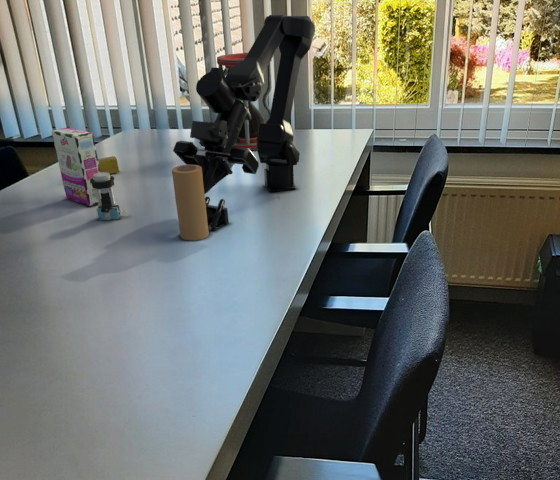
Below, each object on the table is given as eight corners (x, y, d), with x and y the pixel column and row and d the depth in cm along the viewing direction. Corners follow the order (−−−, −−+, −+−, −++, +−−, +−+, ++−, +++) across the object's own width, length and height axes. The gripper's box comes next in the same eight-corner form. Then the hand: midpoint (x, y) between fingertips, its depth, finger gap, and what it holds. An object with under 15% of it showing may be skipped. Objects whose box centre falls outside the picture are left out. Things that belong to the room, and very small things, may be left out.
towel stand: (208, 220, 139) (205, 195, 136) (228, 223, 136) (226, 198, 133) (194, 227, 135) (191, 202, 132) (215, 231, 133) (212, 206, 130)
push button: (129, 213, 145) (121, 170, 139) (124, 221, 140) (116, 177, 135) (100, 214, 145) (92, 171, 139) (95, 222, 140) (86, 178, 135)
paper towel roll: (207, 187, 136) (172, 151, 123) (230, 191, 133) (196, 154, 121) (185, 246, 134) (147, 216, 122) (207, 250, 132) (171, 220, 119)
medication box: (76, 180, 169) (73, 166, 167) (74, 177, 171) (71, 162, 169) (119, 172, 173) (117, 158, 171) (117, 169, 175) (114, 155, 173)
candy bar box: (107, 201, 153) (94, 132, 143) (90, 207, 150) (75, 136, 140) (82, 193, 159) (68, 126, 150) (65, 198, 156) (49, 130, 147)
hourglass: (274, 149, 188) (270, 58, 174) (221, 151, 189) (213, 60, 175) (275, 137, 202) (272, 51, 188) (226, 139, 202) (219, 53, 188)
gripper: (172, 100, 129) (145, 168, 127) (247, 106, 120) (219, 178, 119) (199, 131, 138) (174, 194, 137) (270, 139, 130) (245, 206, 129)
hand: (201, 193), depth 130 cm, fingers closed
